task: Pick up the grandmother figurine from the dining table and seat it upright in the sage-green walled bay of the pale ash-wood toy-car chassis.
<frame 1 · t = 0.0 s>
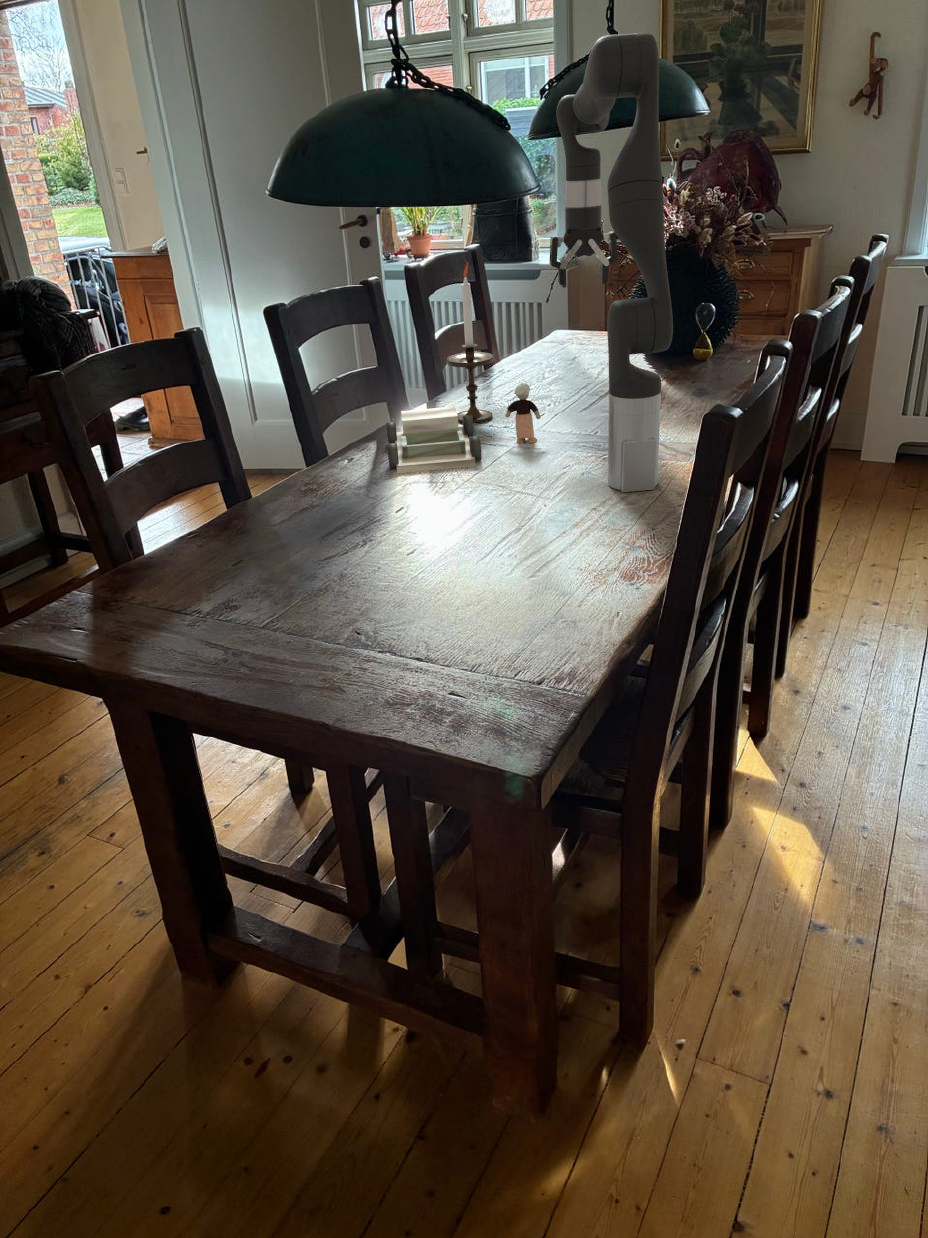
hand: (583, 285, 198), 29 cm above the table, fingers open, 8 cm apart
candlestick: (473, 419, 218), on the table
grandmother figurine: (523, 442, 200), on the table
chassis: (433, 451, 197), on the table
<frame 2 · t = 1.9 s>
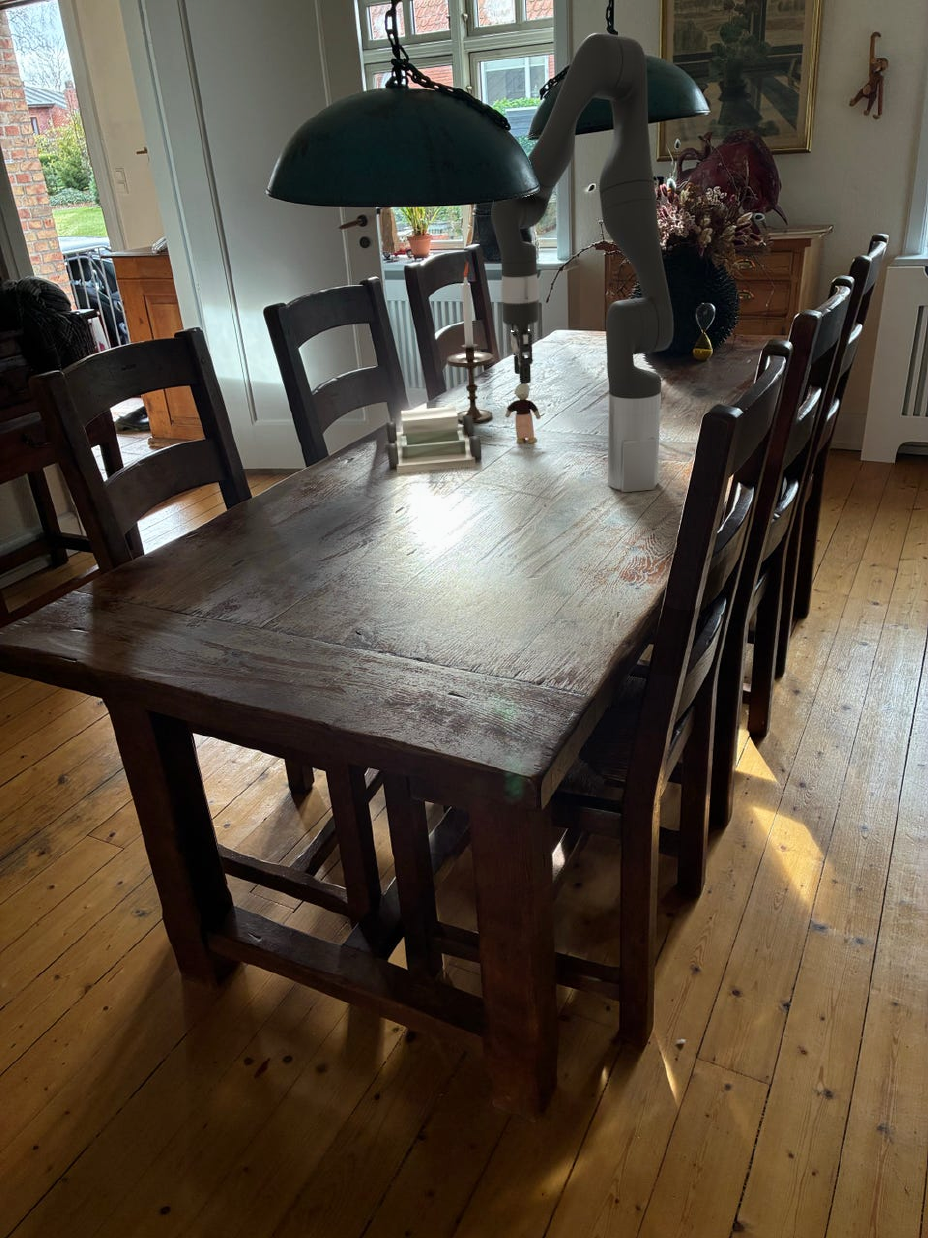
hand: (522, 378, 194), 14 cm above the table, fingers open, 8 cm apart
nothing on the table moved.
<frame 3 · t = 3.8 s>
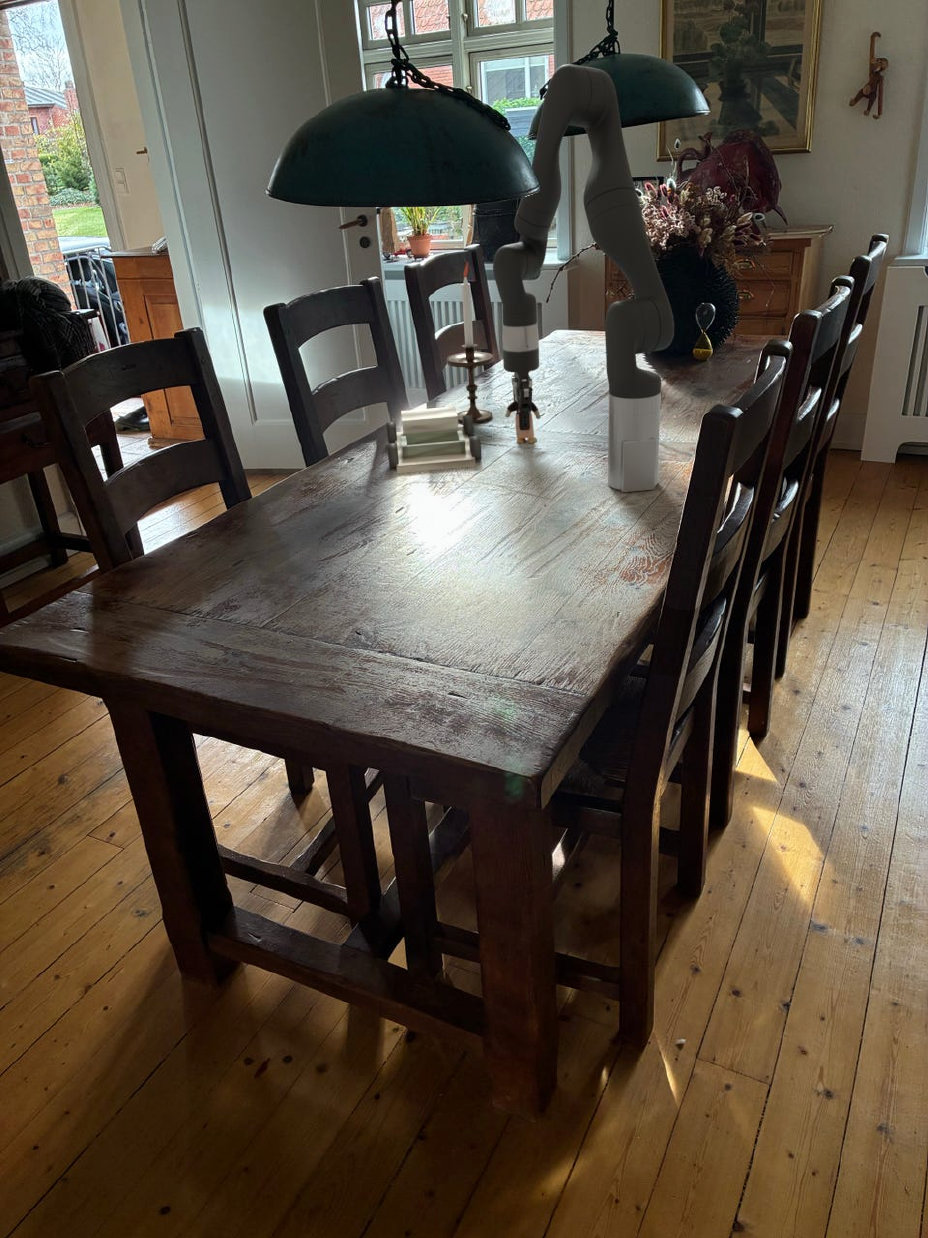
hand: (523, 426, 199), 3 cm above the table, fingers closed on grandmother figurine, 3 cm apart
grandmother figurine: (523, 441, 200), on the table, touching gripper
everything else where it was.
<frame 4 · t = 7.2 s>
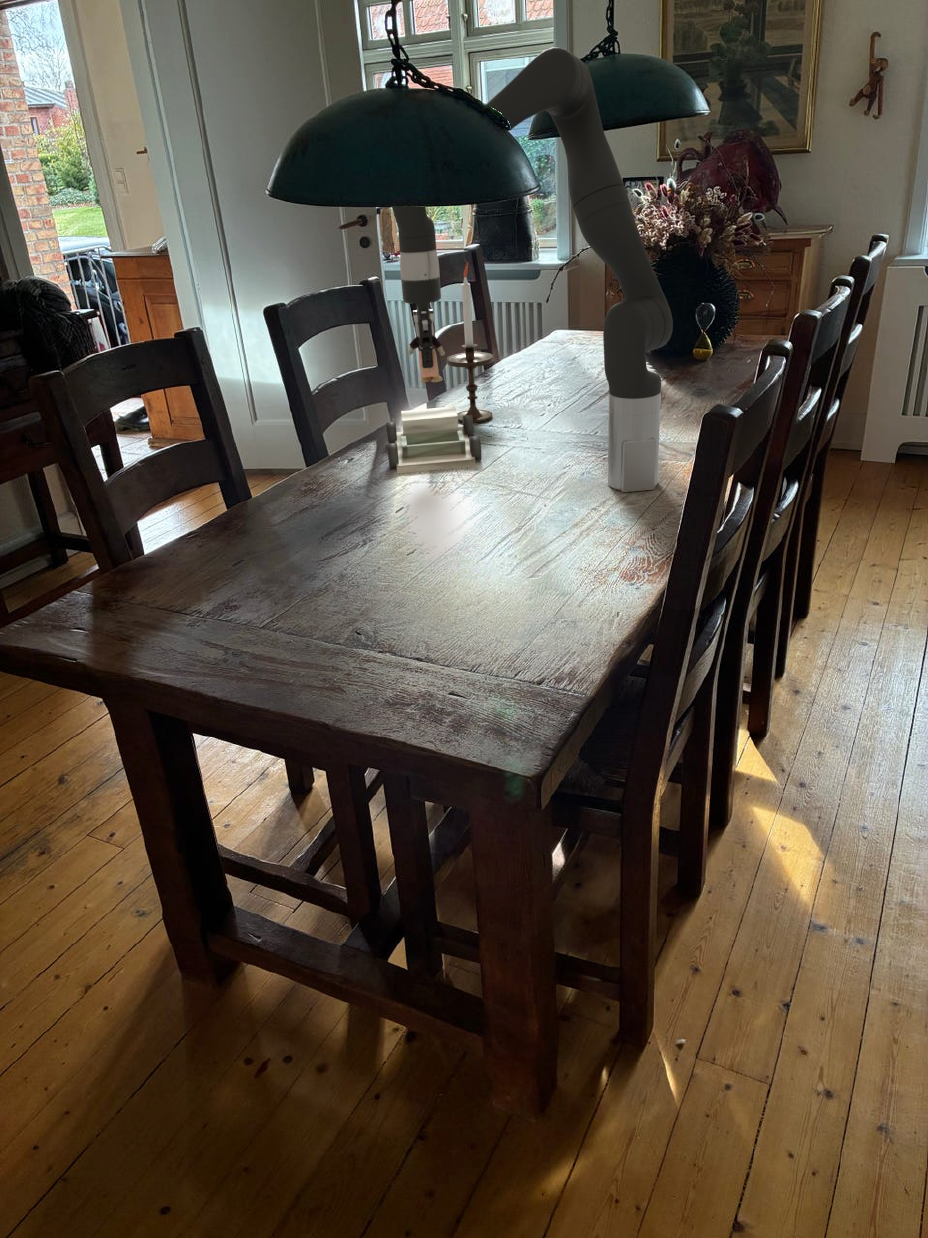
hand: (427, 364, 186), 19 cm above the table, fingers closed on grandmother figurine, 3 cm apart
grandmother figurine: (428, 381, 187), point 16 cm above the table, touching gripper
everything else where it was.
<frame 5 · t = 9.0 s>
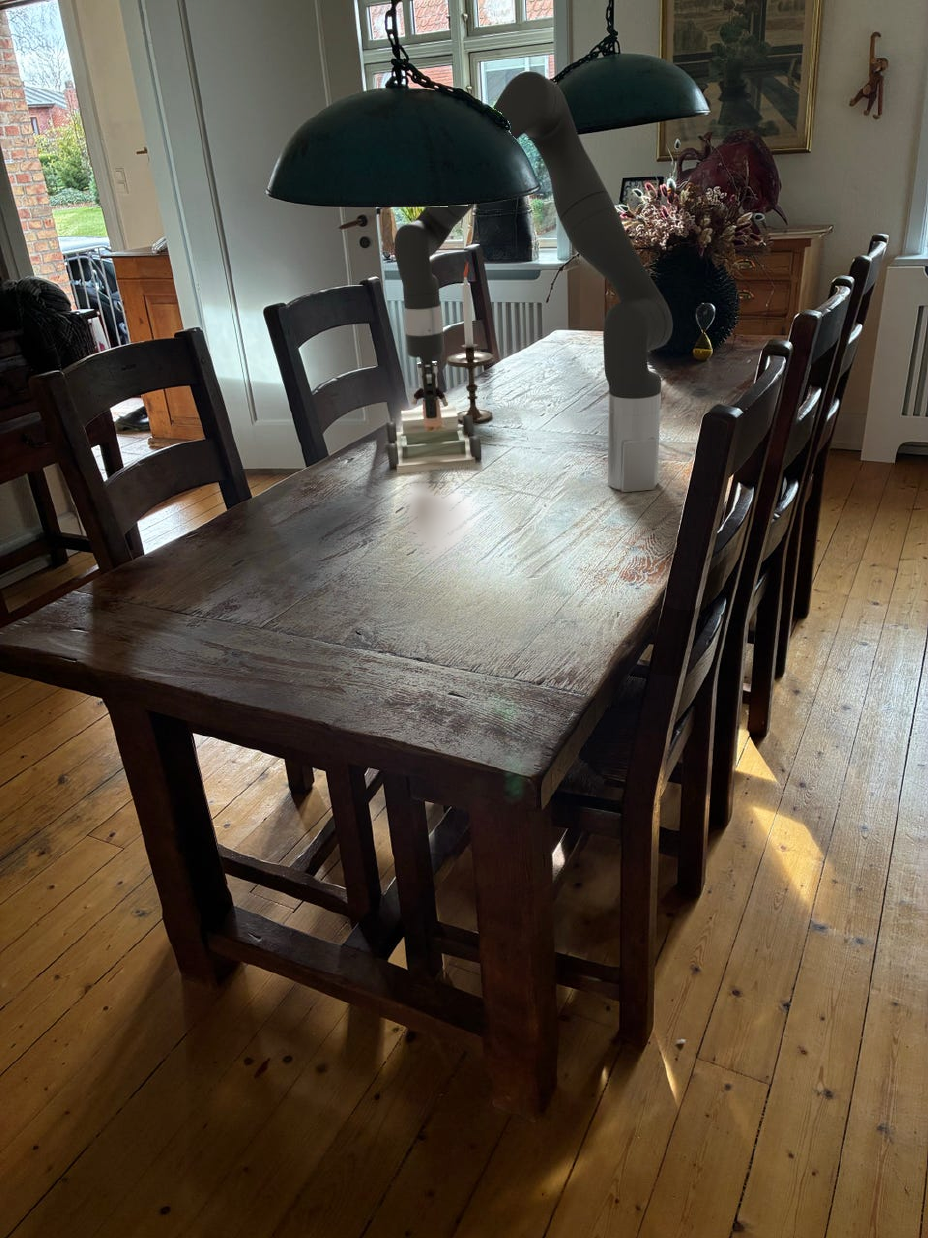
hand: (431, 414, 191), 9 cm above the table, fingers closed on grandmother figurine, 3 cm apart
grandmother figurine: (432, 430, 192), point 6 cm above the table, touching gripper
everything else where it was.
when the fingers open (6 cm above the table, at t = 10.3 s): grandmother figurine drops 1 cm, resting on chassis.
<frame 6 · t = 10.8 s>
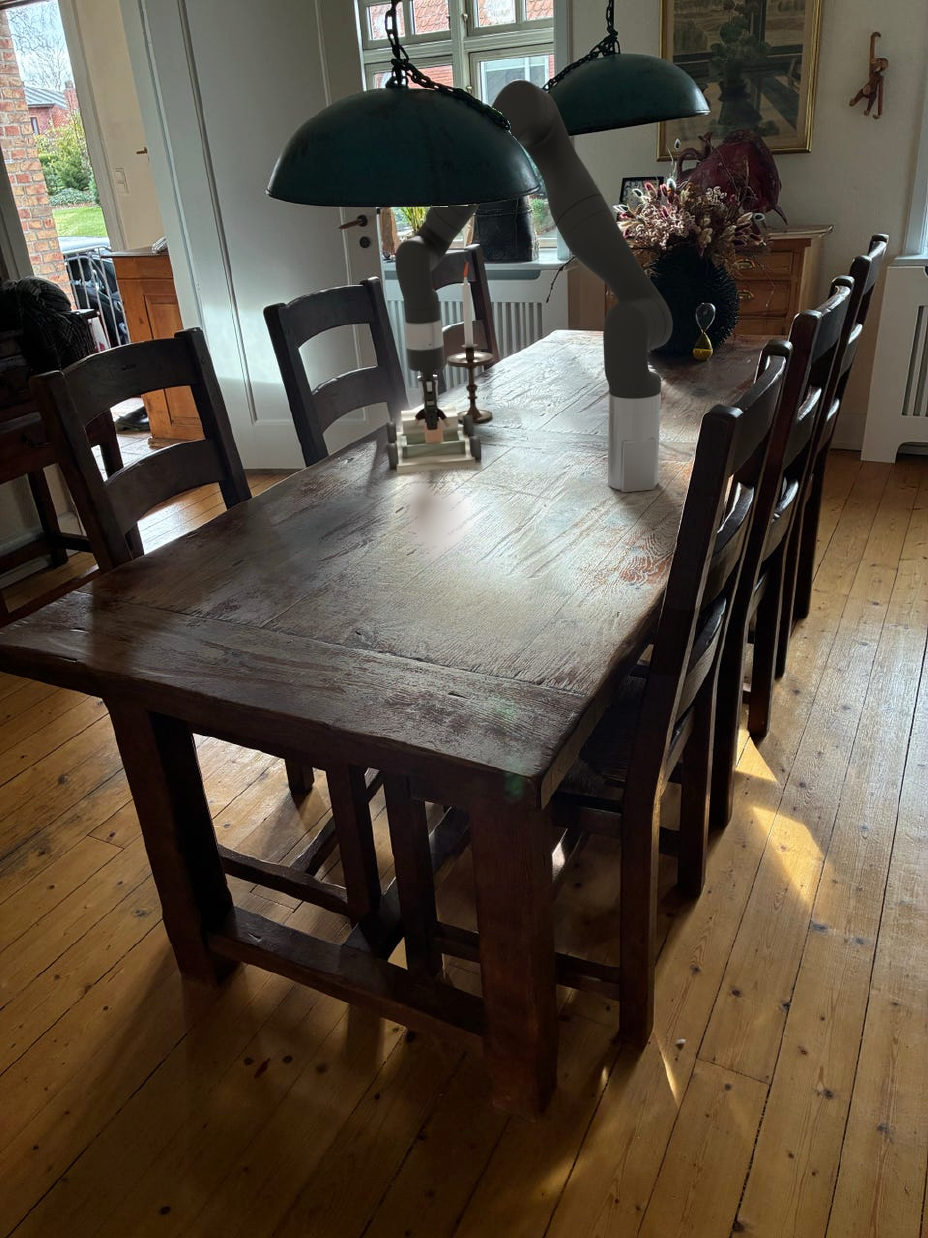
hand: (431, 424, 191), 7 cm above the table, fingers open, 7 cm apart
grandmother figurine: (434, 450, 194), point 1 cm above the table, touching chassis
everything else where it was.
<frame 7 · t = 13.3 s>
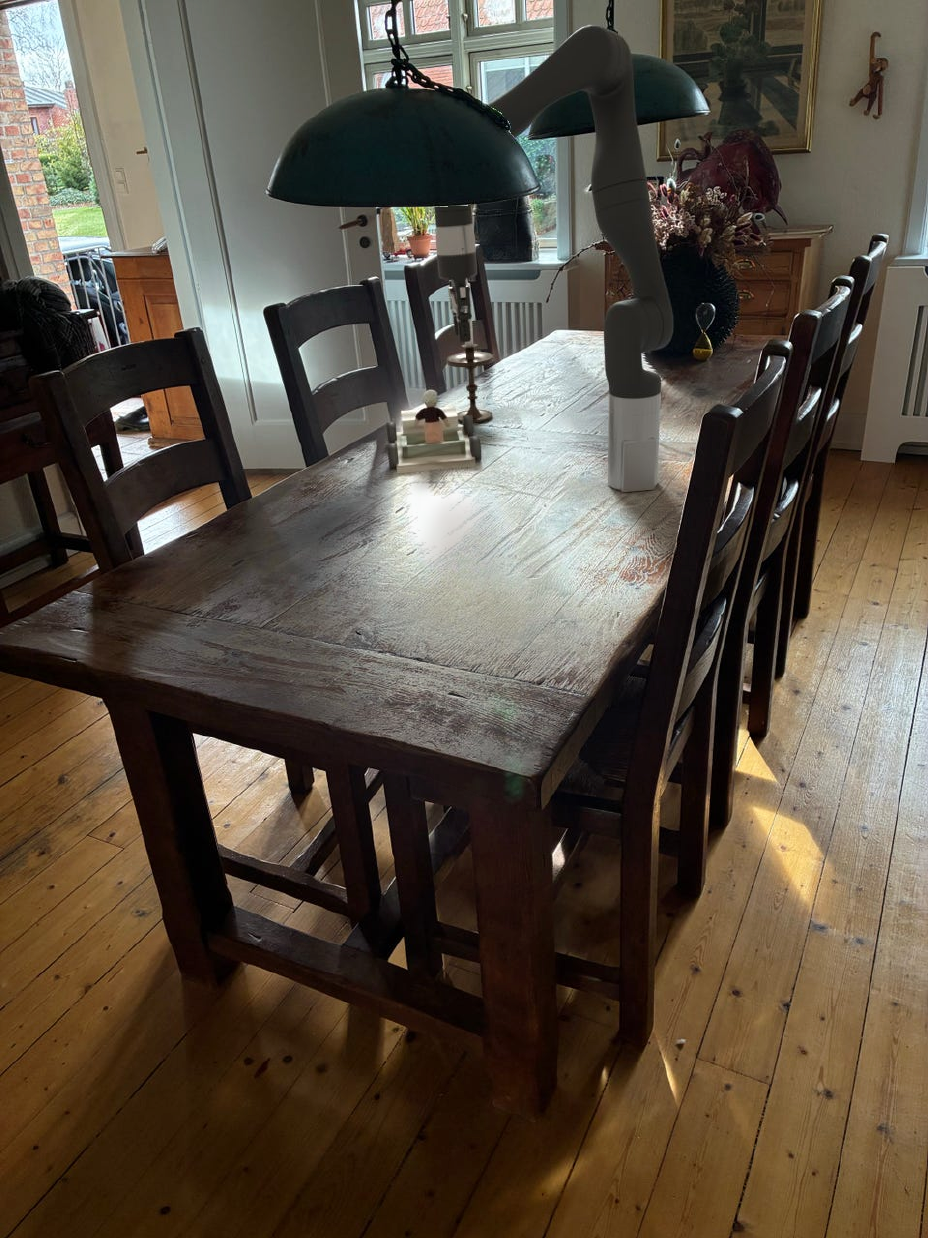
hand: (462, 337, 183), 24 cm above the table, fingers open, 8 cm apart
nothing on the table moved.
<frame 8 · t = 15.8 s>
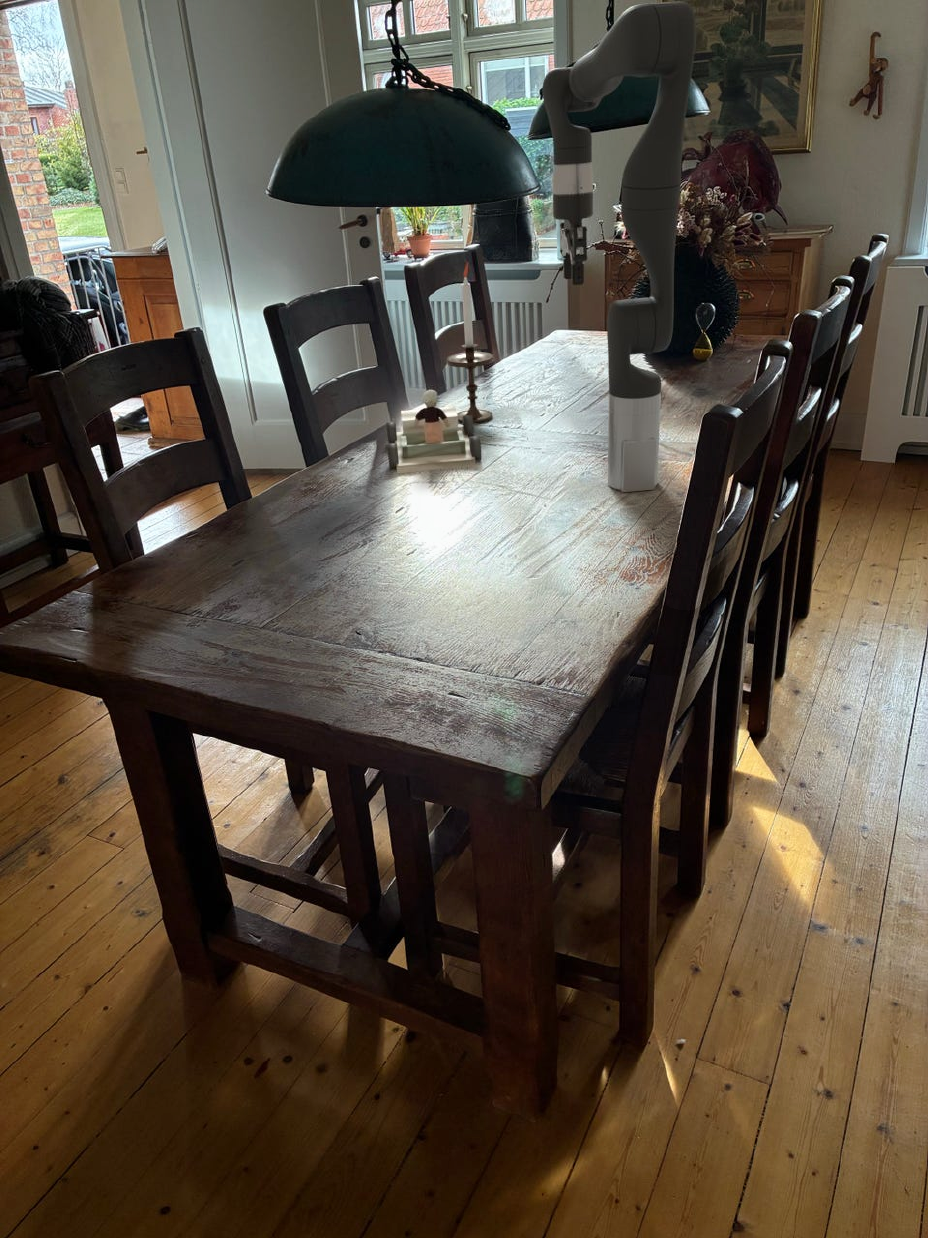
hand: (573, 281, 180), 33 cm above the table, fingers open, 8 cm apart
nothing on the table moved.
at the end: grandmother figurine 0.4 cm from the target spot on the chassis, point 1.3 cm above the chassis's base; grandmother figurine tilted 0°; the gripper is holding nothing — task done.
